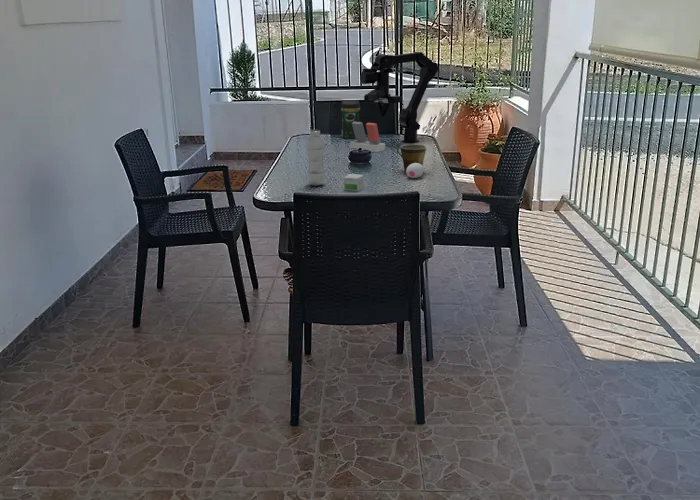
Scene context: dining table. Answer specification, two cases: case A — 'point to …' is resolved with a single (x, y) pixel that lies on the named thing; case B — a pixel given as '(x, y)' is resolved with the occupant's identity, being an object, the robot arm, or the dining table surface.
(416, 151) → the ceramic cup
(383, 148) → the shallow grey tray
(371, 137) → the upright red slab
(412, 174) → the stress ball
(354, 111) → the coffee jar
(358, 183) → the small box
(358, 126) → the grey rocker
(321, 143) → the plastic bottle
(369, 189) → the dining table surface
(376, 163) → the dining table surface
